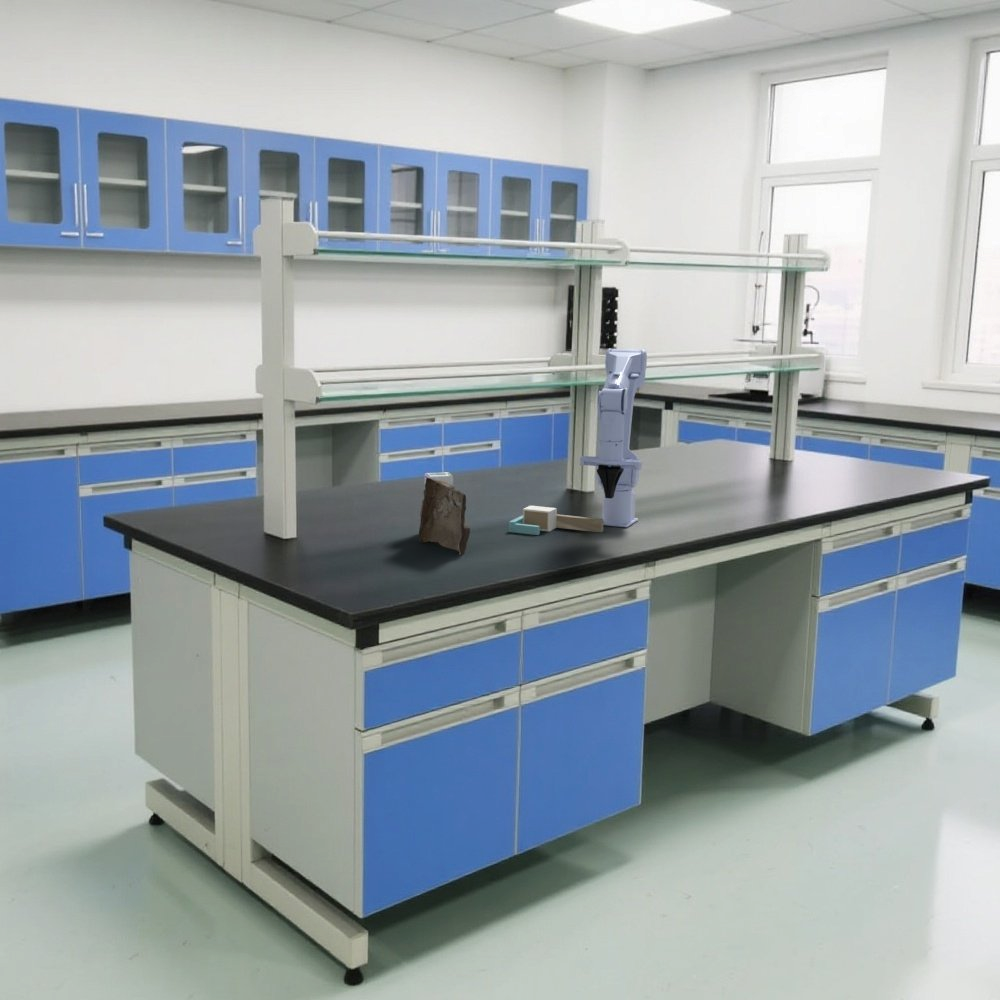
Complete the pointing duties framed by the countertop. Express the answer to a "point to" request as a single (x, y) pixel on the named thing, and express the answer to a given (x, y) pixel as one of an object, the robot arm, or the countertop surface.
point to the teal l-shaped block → (523, 527)
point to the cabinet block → (540, 517)
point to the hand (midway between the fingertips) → (609, 497)
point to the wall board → (579, 523)
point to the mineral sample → (444, 516)
